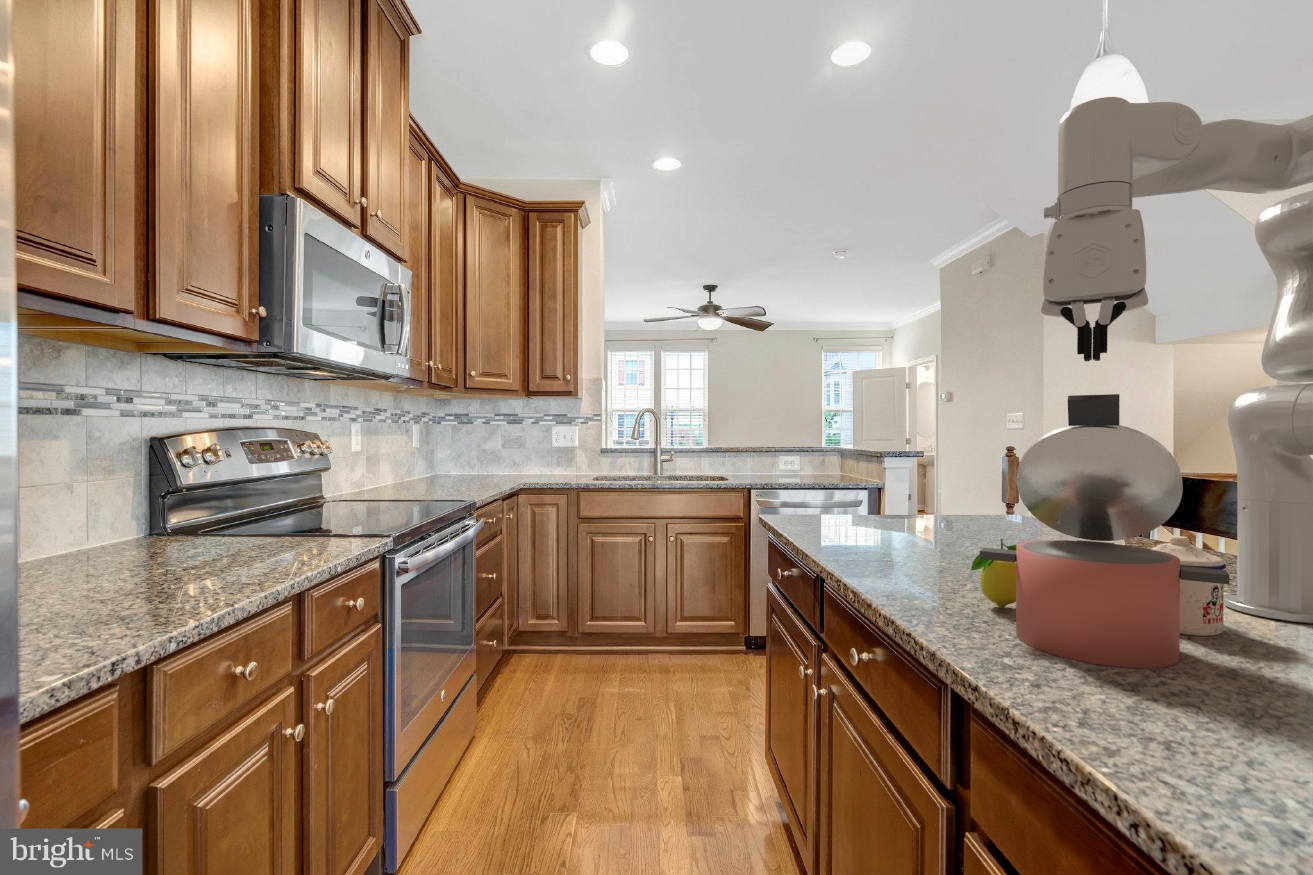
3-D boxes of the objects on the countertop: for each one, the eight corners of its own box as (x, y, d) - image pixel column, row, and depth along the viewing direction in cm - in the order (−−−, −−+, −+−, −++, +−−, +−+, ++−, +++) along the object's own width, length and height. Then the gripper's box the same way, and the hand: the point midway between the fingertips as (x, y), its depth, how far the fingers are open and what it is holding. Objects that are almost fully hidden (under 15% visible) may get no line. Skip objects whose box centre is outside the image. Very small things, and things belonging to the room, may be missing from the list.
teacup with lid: (1224, 642, 76) (1224, 545, 76) (1130, 626, 82) (1130, 537, 82) (1228, 620, 85) (1228, 533, 85) (1143, 607, 91) (1143, 526, 91)
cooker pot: (992, 609, 90) (992, 532, 90) (1217, 642, 76) (1217, 550, 76) (970, 641, 77) (970, 550, 76) (1238, 688, 62) (1238, 576, 62)
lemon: (1036, 609, 91) (1036, 539, 91) (1020, 616, 87) (1020, 544, 87) (987, 599, 96) (987, 533, 96) (969, 606, 92) (970, 537, 92)
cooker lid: (1020, 534, 88) (1022, 525, 89) (1179, 547, 78) (1178, 536, 79) (1010, 401, 79) (1012, 393, 81) (1187, 397, 69) (1186, 387, 71)
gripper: (1019, 212, 78) (1017, 360, 79) (1175, 185, 70) (1173, 352, 70) (1026, 228, 85) (1025, 366, 85) (1171, 205, 76) (1169, 359, 76)
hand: (1092, 359), depth 77 cm, fingers closed
